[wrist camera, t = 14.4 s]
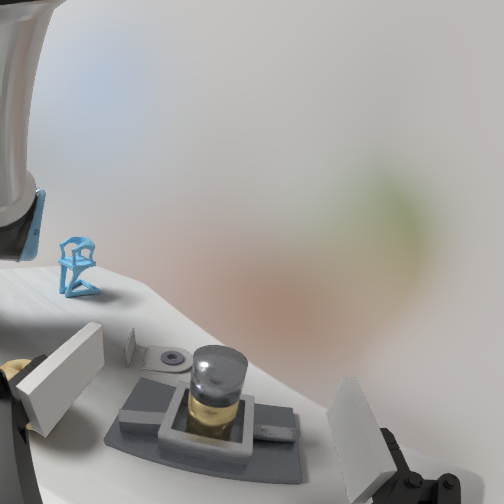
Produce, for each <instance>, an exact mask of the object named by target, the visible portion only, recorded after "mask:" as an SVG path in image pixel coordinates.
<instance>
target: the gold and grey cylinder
mask: <svg viewBox="0 0 504 504" xmlns="http://www.w3.org/2000/svg"><path fill="white" fill-rule="evenodd" d="M247 367H248V361H247V359H246V357H245V356H244V355H243V354H242V353H240V352H238V351H237V350H234V349H232V348H229V347H226V346H220V345H208V346H203V347H200V348H199V349H197V350H196V351H195V353H194V355H193V364H192V372H191V381H190V390H189V400H188V410H187V421H186V430H187V433H189V434H193V435H198V436H203V437H207V438H212V439H218V440H223V441H227V440H228V439H229V437H230V436H231V432H232V428H233V424H234V420H235V416H236V412H237V408H238V404H239V400H240V396H241V392H242V388H243V383H244V379H245V375H246V371H247Z"/></svg>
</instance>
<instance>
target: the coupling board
mask: <svg viewBox="0 0 504 504" xmlns="http://www.w3.org/2000/svg"><path fill="white" fill-rule="evenodd" d="M189 390H190V384H189V383H185V382H181V381H179V383H178V386H177V388H176V387H172V386H169V385H165V384H161V383H158V382H154V381H151V380H148V379H144V378H141V379H140V380H139V382H138V383H137V385H136V387H135V388H134V390H133V391H132V393H131V395H130V396H129V398H128V399H127V401H126V403H125V404H124V406H123V408H122V409H119V414H118V416H117V417H116V419H115V421H114V422H113V424H112V426H111V427H110V429H109V431H108V432H107V434H106V436H105V437H104V442H105V444H106V445H108V446H111V447H113V448H116V449H118V450H121V451H124V452H126V453H129V454H132V455H135V456H138V457H141V458H144V459H147V460H150V461H153V462H156V463H160V464H163V465H167V466H171V467H174V468H178V469H182V470H187V471H191V472H195V473H200V474H205V475H210V476H216V477H222V478H228V479H235V480H243V481H252V482H263V483H277V484H299V483H300V482H301V481H302V476H301V468H300V460H299V453H298V445H297V441H298V438H299V429H298V428H295V423H294V416H293V408H287V407H278V406H269V405H262V404H255V403H254V396H249V395H243V394H241V396H240V400H239V404H238V408H237V412H236V416H235V420H234V424H233V428H232V432H231V436H230V437H229V439H228V440H227V441H223V440H218V439H212V438H207V437H203V436H198V435H193V434H189V433H187V430H186V421H187V410H188V400H189Z"/></svg>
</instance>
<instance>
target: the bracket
mask: <svg viewBox="0 0 504 504" xmlns="http://www.w3.org/2000/svg"><path fill="white" fill-rule="evenodd" d="M134 347H135V332H134V328H132V331H131V333H130V336H129V339H128V342H127V345H126V347H125V355H126V364H127V367H129V364H130V361H131V357H132V354H133V350H134ZM147 349H148V350H147V351H146V352H145V356H144V360H143V361H144V362H145V366H143V367H141V369H144V370H151V371H158V372H168V373H178V372H183V371H186V370H188V369H189V368H191V367H192V364H193V356H192V355H191V354H190V353H189V352H187V351H185V350H183V349H179V348H172V347H157V346H147ZM168 358H175V360H170V359H168Z"/></svg>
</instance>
